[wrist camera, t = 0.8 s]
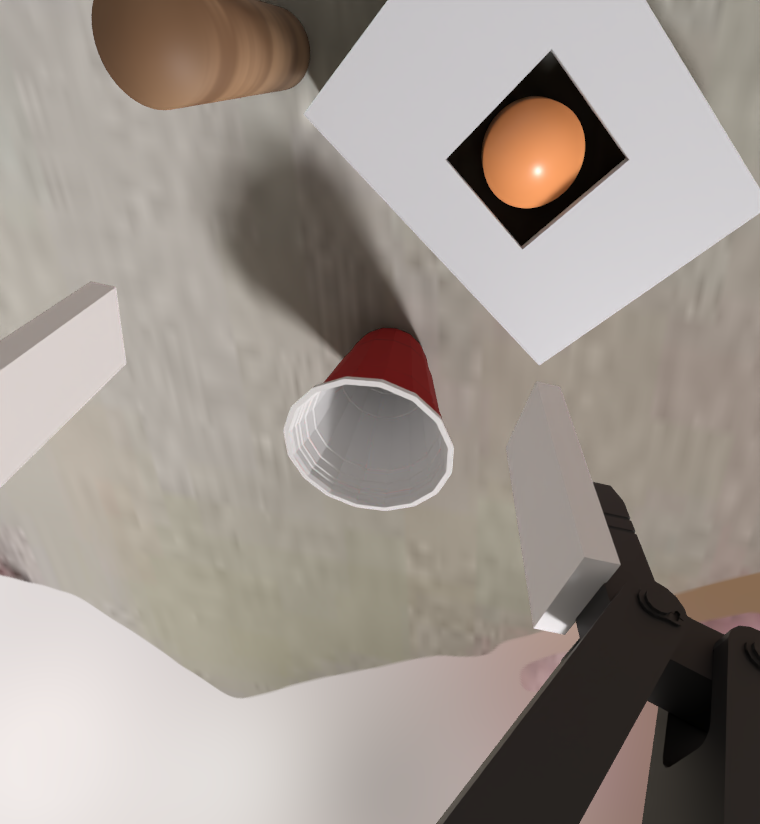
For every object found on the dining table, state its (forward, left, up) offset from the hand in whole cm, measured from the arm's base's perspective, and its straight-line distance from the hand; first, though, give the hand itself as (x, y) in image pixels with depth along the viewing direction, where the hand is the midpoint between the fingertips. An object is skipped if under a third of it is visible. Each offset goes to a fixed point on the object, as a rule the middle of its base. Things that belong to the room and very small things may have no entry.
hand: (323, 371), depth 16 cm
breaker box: (+3, +8, -22) cm, 24 cm away
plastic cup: (+8, -9, -22) cm, 25 cm away
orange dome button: (+3, +8, -19) cm, 21 cm away
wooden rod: (-11, +1, -22) cm, 25 cm away
